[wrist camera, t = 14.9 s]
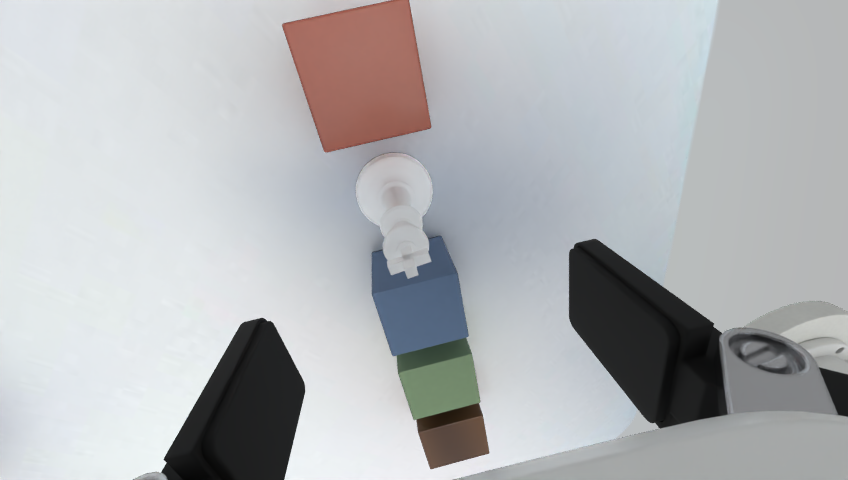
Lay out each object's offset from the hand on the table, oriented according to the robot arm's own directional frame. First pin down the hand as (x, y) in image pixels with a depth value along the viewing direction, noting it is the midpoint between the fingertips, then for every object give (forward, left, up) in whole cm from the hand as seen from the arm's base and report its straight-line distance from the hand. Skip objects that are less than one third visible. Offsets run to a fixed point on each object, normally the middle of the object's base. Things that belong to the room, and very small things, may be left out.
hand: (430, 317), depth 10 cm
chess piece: (0, 0, -13) cm, 13 cm away
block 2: (0, +6, -13) cm, 14 cm away
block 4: (0, +19, -13) cm, 23 cm away
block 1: (0, -7, -13) cm, 14 cm away
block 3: (0, +13, -13) cm, 18 cm away
